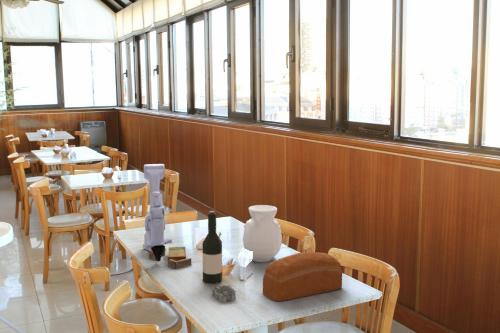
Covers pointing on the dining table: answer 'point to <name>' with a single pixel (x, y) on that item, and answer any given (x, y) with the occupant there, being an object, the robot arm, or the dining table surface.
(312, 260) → the bread
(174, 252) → the carton
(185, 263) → the frame
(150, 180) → the robot arm
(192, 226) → the dining table surface
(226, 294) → the grey rock
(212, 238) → the wine bottle
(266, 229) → the white ceramic rounded jar
